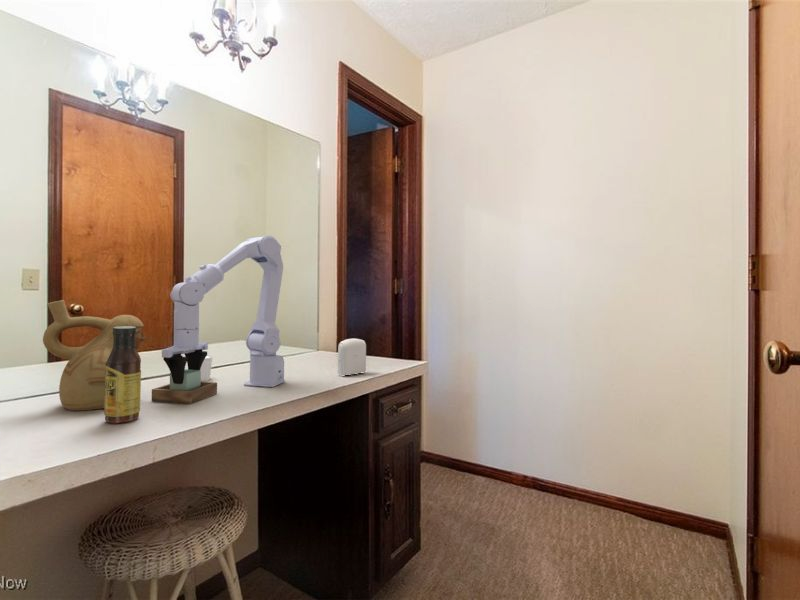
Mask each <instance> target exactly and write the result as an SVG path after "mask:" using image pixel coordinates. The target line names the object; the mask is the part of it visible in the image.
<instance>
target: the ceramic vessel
mask: <svg viewBox="0 0 800 600" xmlns="http://www.w3.org/2000/svg"><path fill="white" fill-rule="evenodd" d="M47 307H48V308H49V310H50V313H51V315H52V318H53V320H54V321H53V322H52V323H51V324H50V325H48V326H47V328H46V329H45V330H44V333H43V335H42V342H43V343H42V344H43V346H44V348H46V350H47V351H48V352H49V353H51V354H52V355H53V356H55V357H58V358H62V359H65V360H68V362H67V363H66V365H65V367H64V368H63V370H62V373H61V375H60V376H61V377H60V381H59V388H58V393H59V394H58V395H59V400H60V403H61V406H62V407H64V409H67V410H70V411H92V410H93V411H94V410H101V409H104V405H105V365H106V363H107V360H108V358H109V356H110V353H111V351H112V349H113V344H114V335H113V328H114V327H118V326H133V327H136V334H135V347H134V348H135V350H136V351H137V350H138V349H140V347H141V343H143V342H145V341H146V339H147V336H146V335H145V334H144V332H143V331H142V329H143V327H144V323H143V322H142V320H141V319H139V317H136V316H135V315H131V314H121V315H117V316H115V317H113V318H111V319H108V318H104V317H97V316H89V315H88V316H84V315H83V316H73V317H71V316H70V315H69V312H68V310H67V306H66V302H65V299H61V300H56V301H51V302H48V303H47ZM78 327H79V328H80V327H91V328H94V329H98V330H100V333H99V334H98V335H97V336H95V337H94V338H93V339H92V340H90V341H89V342H88V343H86V344H85V345H83V346H77V347H76V346H73V347H71V346H67V345H64V344H63V343H61V342H60V340H59V335H60V334H61V333H62V332H63V331H65V330H67V329H73V328H78Z"/></svg>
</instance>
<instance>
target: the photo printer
mask: <svg viewBox="0 0 800 600" xmlns="http://www.w3.org/2000/svg"><path fill="white" fill-rule="evenodd" d="M337 347H338V348H337V375H338V374H339V375H349V374H355V373H361V372H365V371H366V372H367V370H366V369H367V368H366V367H367V344H366V341H365V340H363V339H360V338H355V337H354V338H347V339H344V340H342V341H340V342H339V343H338V346H337ZM366 372H365V373H366ZM339 375H338V376H339Z"/></svg>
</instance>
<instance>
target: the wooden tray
mask: <svg viewBox="0 0 800 600" xmlns="http://www.w3.org/2000/svg"><path fill="white" fill-rule="evenodd" d="M217 394H218V382H217V381H216V382H213V381H201V387H200V388H197V389H194V390H191V391H182V390H170V383H169V384H166V385H161V386H159V387H155V388H152V389H151V402H155V403H156V402H157V403H169V404H179V405H180V404H182V405H183V404H184V405H191V404H195V403H196V402H200V401H202V400H204V399H206V398H209V397H212V396H215V395H217Z"/></svg>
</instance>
